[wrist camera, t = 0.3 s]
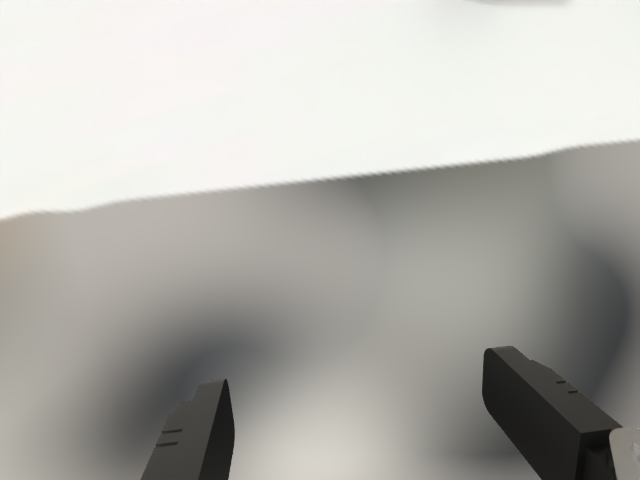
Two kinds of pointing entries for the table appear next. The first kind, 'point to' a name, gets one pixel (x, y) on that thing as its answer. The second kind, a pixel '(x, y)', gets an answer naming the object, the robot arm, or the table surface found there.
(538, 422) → the robot arm
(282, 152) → the table surface
